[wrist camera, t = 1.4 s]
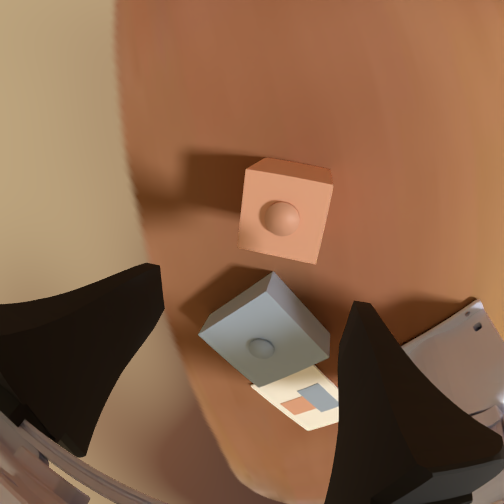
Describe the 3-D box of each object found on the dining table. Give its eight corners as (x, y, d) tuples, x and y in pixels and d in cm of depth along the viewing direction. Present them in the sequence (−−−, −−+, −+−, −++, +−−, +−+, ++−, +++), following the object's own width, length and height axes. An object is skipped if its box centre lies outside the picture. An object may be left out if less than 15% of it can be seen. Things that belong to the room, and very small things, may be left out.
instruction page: (310, 360, 23) (309, 362, 23) (362, 411, 25) (362, 413, 25) (250, 384, 26) (250, 386, 26) (308, 429, 28) (307, 431, 28)
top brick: (330, 168, 17) (333, 186, 12) (318, 229, 18) (315, 267, 14) (265, 157, 17) (244, 169, 12) (257, 217, 19) (235, 250, 14)
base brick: (274, 268, 21) (265, 293, 18) (330, 331, 22) (329, 360, 19) (211, 312, 24) (196, 337, 21) (265, 363, 25) (257, 390, 22)
